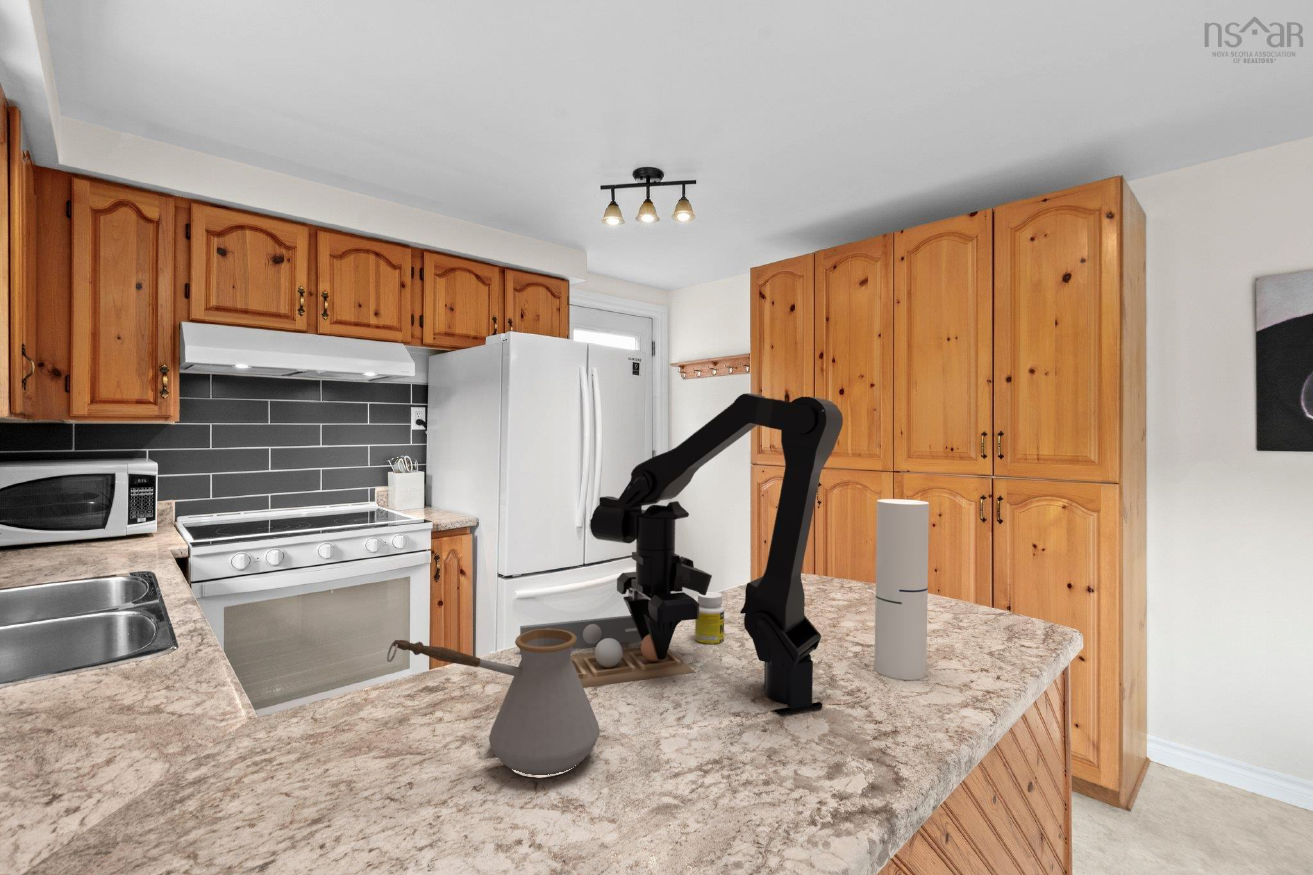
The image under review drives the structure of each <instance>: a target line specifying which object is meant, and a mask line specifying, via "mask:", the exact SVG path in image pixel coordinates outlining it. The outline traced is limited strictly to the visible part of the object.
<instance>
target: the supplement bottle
mask: <svg viewBox="0 0 1313 875" xmlns="http://www.w3.org/2000/svg"><path fill="white" fill-rule="evenodd" d="M697 602H698V603H699V618H698V619H694V620H695V623H694V624H695V625H694V626H695V627H694V641H695V642H697V643H698V644H702V645H710V646H713V645H714V646H715V645H720V644H722V643H724V641H725V640H724V639H725V609H724V606H723V605H722V604H723V594H722V593H720V592H717V591H707V593H706V595H701V594H699V593H698V594H697Z"/></svg>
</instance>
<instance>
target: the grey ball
mask: <svg viewBox="0 0 1313 875" xmlns="http://www.w3.org/2000/svg"><path fill="white" fill-rule="evenodd" d="M622 650H623V647H622V645H621V643H619V642H618V641H616V640H615V639H612V638H606V639H603V640H601V641H600V642H599V643H598V644H597V646H595V649H594V653H595V658H596V660H597V662H598V663H599V664H600V665H601V666H603V667H606V668H610V667H614V666H616V665H617V664H618V663H619V662H620V660H621V658H622V654H623V651H622Z"/></svg>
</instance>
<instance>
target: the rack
mask: <svg viewBox="0 0 1313 875" xmlns="http://www.w3.org/2000/svg"><path fill="white" fill-rule="evenodd" d="M622 651H623V654H622V658H621V660H620V662H619V663H618V664H617V665H616V666H614V667H610V668H606V667H603V666H601V665H600V664H599V663H598V662H597V660H596V658H595V652H593V653H592V652H591V653H585V654H576V655H570V657H571V659H572V662H573V664H574V667H575V669H576V671H577V674H578V676H579V679H580V681H581V683H582V686H583V688H584V689H587V688H592V687H593V688H594V687H600V686H607V685H608V686H609V685H615V684H622V683H630V682H637V681H643V680H652V679H659V678H665V677H673V676H680V675H688V674H695V673H697V672H696V671H695V670H694V669H692V667H690V666H689V665H688V664H687V663H685V661H684V660H683V659H681V657H679V656H678V655H677V654H676V653H674V652H673V651H672V650H670V649H669V648H668V652H667V655H666V658H665V659H662V660H660V661H657V662H652V661H649V660H647V659H646V658H645V657H644V656H643V655H642V652H641V647H635V648H634V647H633V648H627V649H625V648H624V649H622Z"/></svg>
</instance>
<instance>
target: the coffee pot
mask: <svg viewBox="0 0 1313 875" xmlns="http://www.w3.org/2000/svg"><path fill="white" fill-rule="evenodd" d="M576 641H577V637H576V635H575V634H573V633H571V632H569V631H565V630H559V629H534V630H531V631H528V632H526V633H523V634H521V635H520V634H519V635H517V637H516V638H515V641H514V643H515V645H516V647H517V648H519V653H521V654H520V656H521V659H520V662H519V663H518V666H515V665H511V664H505V663H502V662H497V661H491V660H487V659H482V658H480V657H477V656H473V655H470V654H467V653H463V652H460V651H458V650H454V649H450V648H447V647H444V646H433V645H424V644H423V642H422V641H417V642H416V643H413V642H410V641H409V640H406V639H395V640H394V641H392V643H391V645H390V647H389V648H388V652H387V655H386V661H387V662H388V663H391V662H392V661H393V660H394V658H395V656H396V654H397V651H398V649H399V650H402V651H410V652H412V653H413V654H414V655H415V656H418V655H420V654H422V655H425V656H427V657H429V658H432V659H435V660H436V661H440V662H446V663H451V664H456V665H462V666H468V667H473V668H481V669H486V670H489V671H493V672H496V673H500V674H501V673H502V674H504V675H509V676H513V678H512V680H511V682H510V685H509V687H508V690H507V691H506V695H505V696H504V699H503V701H502V703H501V705H500V708H499V711H498V713H497V715H496V717H495V720H494V723H493V725H492V726H491V729H490V733H489V737H488V741H489V744H490V748H491V750H492V752H493V755H494V756H495V757H496V758H497V759H498V760H499V761H500V762H501V763H502V764H503V765H504V766H506V767H507V768H509V769H510V768H511V769H513V770H516V771H519V772H522V773H525V774H532V775H548V774H549V775H550V774H556V773H559V772H564V771H566V770H569V769H571V768H573V767H575V765H577V764H578V763H579V762H580V763H581V762H582V761H583V760H584V759H586V758H587V756H588V755H589V754H590V753H591V752H592V751H593V749H594V747H595V745H596V743H597V741H598V738H599V736H600V724H599V722H598V719H597V718H596V715H595V713H594V711H593V708H592V705H591V703H590V701H589V699H588V696H587V693H586V691H585V688H583V686H582V683H581V681H580V679H579V676H578V674H577V671H576V669H575V667H574V664H573V662H572V659H571V657H570V656H572V650H573V649H572V646H573V645H574V644H575V643H576ZM393 647H395V648H394V651H393V654H392V656H391V655H390V654H391V651H392V648H393ZM390 656H391V658H390ZM580 763H579V764H580ZM579 764H578V765H579ZM578 765H577V766H578ZM575 768H576V767H575ZM511 769H510V770H511Z"/></svg>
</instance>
